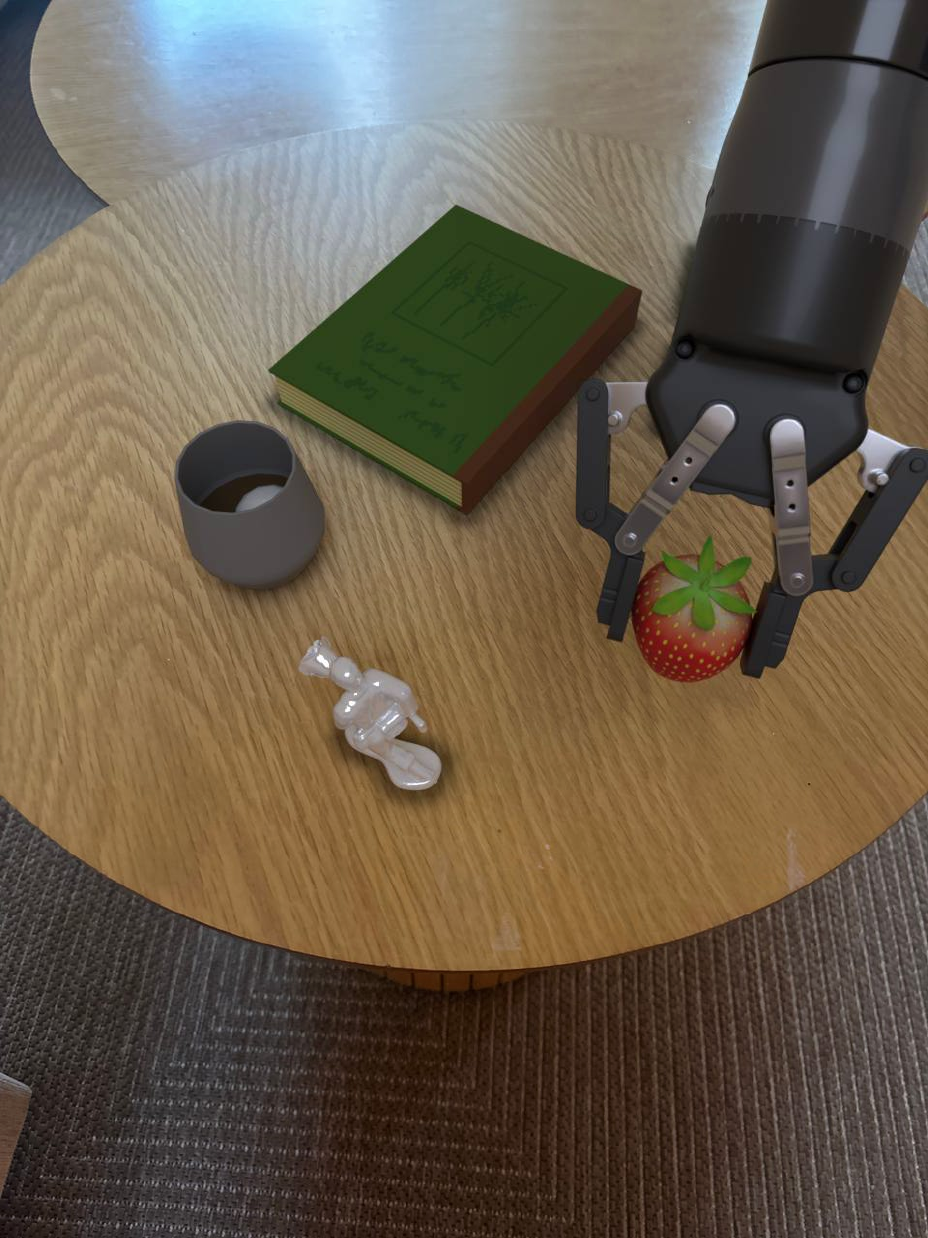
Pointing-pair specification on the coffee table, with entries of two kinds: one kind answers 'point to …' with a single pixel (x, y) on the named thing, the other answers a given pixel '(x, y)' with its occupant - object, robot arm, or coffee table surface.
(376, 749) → the figurine
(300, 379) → the hardcover book
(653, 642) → the fruit
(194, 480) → the cup
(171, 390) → the coffee table surface
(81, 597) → the coffee table surface
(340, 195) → the coffee table surface
